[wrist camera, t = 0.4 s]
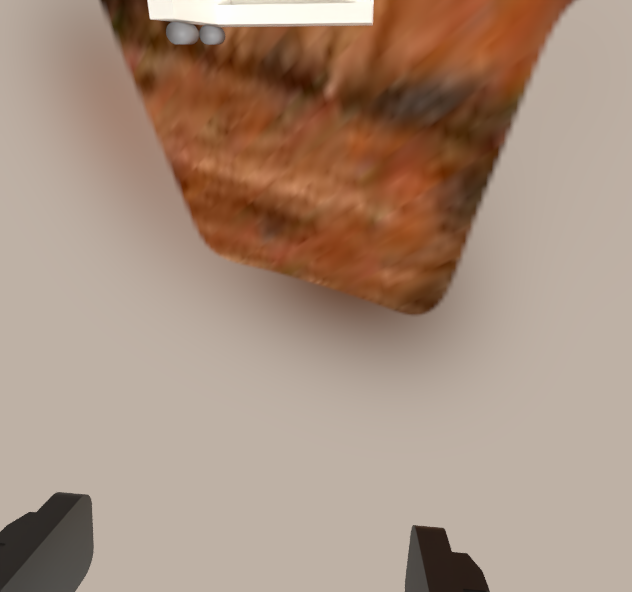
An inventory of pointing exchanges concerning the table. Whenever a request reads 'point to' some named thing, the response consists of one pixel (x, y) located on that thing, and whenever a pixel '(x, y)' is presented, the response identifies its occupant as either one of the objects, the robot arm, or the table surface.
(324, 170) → the table surface
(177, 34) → the white open box
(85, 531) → the robot arm
